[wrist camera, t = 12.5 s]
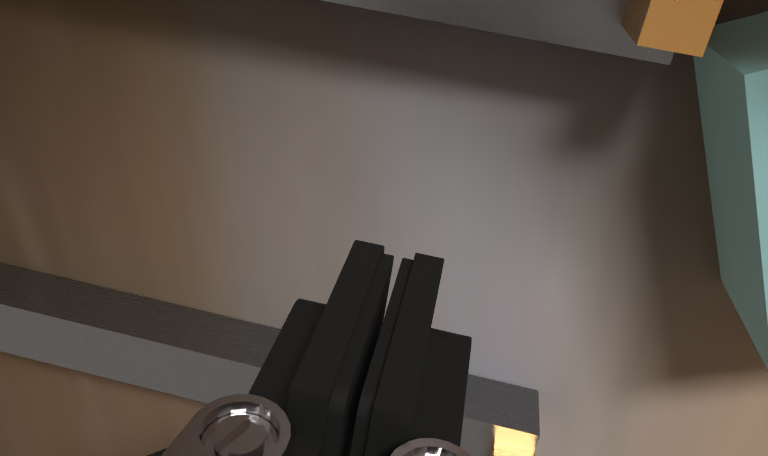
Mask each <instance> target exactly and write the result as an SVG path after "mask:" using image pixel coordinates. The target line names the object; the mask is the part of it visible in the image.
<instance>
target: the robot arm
mask: <svg viewBox="0 0 768 456" xmlns="http://www.w3.org/2000/svg"><path fill="white" fill-rule="evenodd" d="M393 260H394V256H392V255H387V254H384V246H382V245H378V244H373V243H368V242H364V241H359V240H355V242H354V243H353V246H352V248H351V250H350V252H349V255H348V257H347V259H346V261H345V264H344V266H343V268H342V271H341V273H340V275H339V277H338V280H337V282H336V284H335V286H334V289H333V291H332V293H331V295H330V298H329V300H328V302H327V304H322V303H317V302H313V301H308V300H304V299H298V300H297V301H296V302H295V304H294V306H293V308H292V309H291V311H290V313H289V315H288V317H287V319H286V321H285V323H284V325H283V327H282V329H281V331H280V333H279V335H278V337H277V339H276V341H275V342H274V344H273V346H272V348H271V350H270V352H269V354H268V356H267V358H266V360H265V362H264V364H263V366H262V368H261V370H260V372H259V373H258V375H257V377H256V379H255V381H254V383H253V385H252V387H251V389H250V391H249V393H248V394H233V395H229V396H224V397H220V398H218V399H216V400H214V401H212V402H210V403H208V404H206V405H205V406H204V407H203V408H202V409H201V410H199V411H198V412H197V413H196V414H195V415H194V417H193V418H192V419H191V420H190V421H189V423H188V424H187V425H186V426H185V427H184V429H183V430H182V431H181V432H180V433H179V435H178V436H177V437H176V438H175V439H174V441H173V442H172V443H171V444H170V445H169V447H168V448H166V449H163V450H161V451H158V452H155V453H153V454H150V455H147V456H471V455H470V454H468V453H467V452H466V451H465V450H464V449H462V448H460V444H461V434H462V425H463V416H464V407H465V397H466V388H467V379H468V370H469V360H470V351H471V340H472V339H471V337H468V336H464V335H459V334H455V333H451V332H446V331H442V330H437V329H433V328H431V324H432V319H433V314H434V309H435V304H436V299H437V294H438V289H439V284H440V279H441V274H442V269H443V263H444V259H443V258H438V257H434V256H429V255H424V254H420V253H415V257H414V260H411V259H406V258H403V259H402V262H401V265H400V268H399V271H398V275H397V278H396V281H395V285H394V288H393V291H392V295H391V298H390V301H389V304H388V308H387V311H386V314H385V318H384V313H385V307H386V302H387V296H388V290H389V284H390V278H391V272H392V266H393ZM383 319H384V321H383Z"/></svg>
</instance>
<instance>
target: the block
mask: <svg viewBox="0 0 768 456" xmlns="http://www.w3.org/2000/svg"><path fill="white" fill-rule="evenodd" d="M693 59H694V67H695V75H696V83H697V91H698V99H699V107H700V115H701V123H702V131H703V139H704V147H705V156H706V164H707V172H708V180H709V188H710V196H711V204H712V212H713V220H714V228H715V236H716V244H717V252H718V260H719V268H720V276H721V282H722V284H723V285H724V287H725V289H726V291H727V293H728V295H729V297H730V299H731V301H732V303H733V305H734V307H735V308H736V310H737V312H738V314H739V316H740V318H741V320H742V322H743V324H744V326H745V328H746V330H747V332H748V333H749V335H750V337H751V339H752V341H753V343H754V345H755V347H756V349H757V351H758V353H759V355H760V357H761V358H762V360H763V362H764V364H765V366H766V368H767V370H768V11H767V12H763V13H759V14H755V15H752V16H748V17H744V18H740V19H736V20H732V21H729V22H725V23H721V24H717V25H714V28H713V30H712V33H711V36H710V38H709V41H708V44H707V46H706V49H705V52H704V55H703V57H698V56H693Z"/></svg>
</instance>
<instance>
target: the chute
mask: <svg viewBox="0 0 768 456" xmlns="http://www.w3.org/2000/svg"><path fill="white" fill-rule="evenodd" d="M322 1H327V2H332V3H338V4H343V5H348V6H354V7H359V8H365V9H370V10H375V11H381V12H386V13H392V14H397V15H402V16H408V17H413V18H418V19H424V20H429V21H435V22H440V23H445V24H451V25H456V26H461V27H467V28H472V29H478V30H483V31H488V32H494V33H499V34H504V35H510V36H515V37H521V38H526V39H531V40H537V41H542V42H548V43H553V44H558V45H564V46H569V47H574V48H580V49H585V50H591V51H596V52H601V53H607V54H612V55H617V56H623V57H628V58H634V59H639V60H644V61H650V62H655V63H660V64H666V65H670V63H671V60H672V58H673V55H674V52H676V53H682V54H687V55H692V56H698V57H703V55H704V52H705V49H706V46H707V44H708V41H709V38H710V36H711V33H712V30H713V28H714V25H715V22H716V20H717V17H718V14H719V12H720V9H721V6H722V3H723V1H724V0H322ZM280 331H281V330H280V329H275V328H271V327H267V326H263V325H259V324H254V323H250V322H246V321H242V320H238V319H233V318H229V317H225V316H221V315H217V314H212V313H208V312H204V311H200V310H196V309H191V308H187V307H183V306H179V305H175V304H170V303H166V302H162V301H158V300H154V299H149V298H145V297H141V296H137V295H133V294H128V293H124V292H120V291H116V290H112V289H107V288H103V287H99V286H95V285H91V284H86V283H82V282H78V281H74V280H70V279H65V278H61V277H57V276H53V275H49V274H44V273H40V272H36V271H32V270H28V269H23V268H19V267H15V266H11V265H6V264H2V263H0V351H1V352H5V353H9V354H13V355H17V356H21V357H25V358H29V359H33V360H37V361H41V362H45V363H49V364H53V365H57V366H61V367H65V368H69V369H73V370H77V371H81V372H85V373H89V374H93V375H96V376H100V377H104V378H108V379H112V380H116V381H120V382H124V383H128V384H132V385H136V386H140V387H144V388H148V389H152V390H156V391H160V392H164V393H168V394H172V395H176V396H180V397H184V398H188V399H192V400H196V401H200V402H204V403H207V404H208V403H210V402H212V401H214V400H216V399H218V398H220V397H224V396H229V395H233V394H248V393H249V391H250V389H251V387H252V385H253V383H254V381H255V379H256V377H257V375H258V373H259V372H260V370H261V368H262V366H263V364H264V362H265V360H266V358H267V356H268V354H269V352H270V350H271V348H272V346H273V344H274V342H275V341H276V339H277V337H278V335H279V333H280ZM539 436H540V430H539V399H538V391H536V390H532V389H528V388H523V387H519V386H515V385H511V384H507V383H502V382H498V381H494V380H490V379H486V378H481V377H477V376H473V375H469V374H468V379H467V388H466V397H465V407H464V416H463V425H462V434H461V444H460V448H462V449H464V450H465V451H466V452H467V453H468V454H470V455H471V456H535V448H536V445H537V442H538V439H539Z"/></svg>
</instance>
